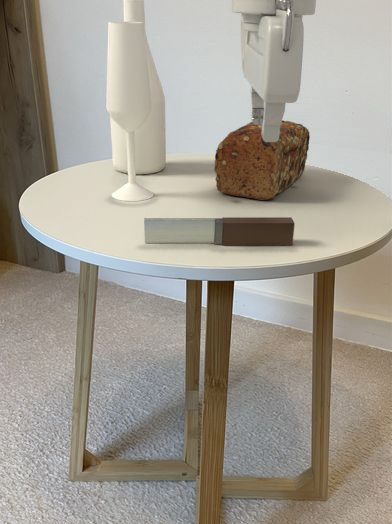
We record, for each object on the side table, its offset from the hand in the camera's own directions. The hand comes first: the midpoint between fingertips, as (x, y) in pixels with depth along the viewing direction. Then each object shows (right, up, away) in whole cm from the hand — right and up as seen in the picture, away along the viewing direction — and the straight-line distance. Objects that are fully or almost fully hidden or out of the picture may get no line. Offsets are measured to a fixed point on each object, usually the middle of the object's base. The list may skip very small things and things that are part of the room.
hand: (263, 131), depth 70 cm
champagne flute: (-18, -1, +25) cm, 31 cm away
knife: (-6, -12, +7) cm, 15 cm away
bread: (+3, +2, +31) cm, 31 cm away
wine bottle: (-18, +7, +38) cm, 43 cm away
